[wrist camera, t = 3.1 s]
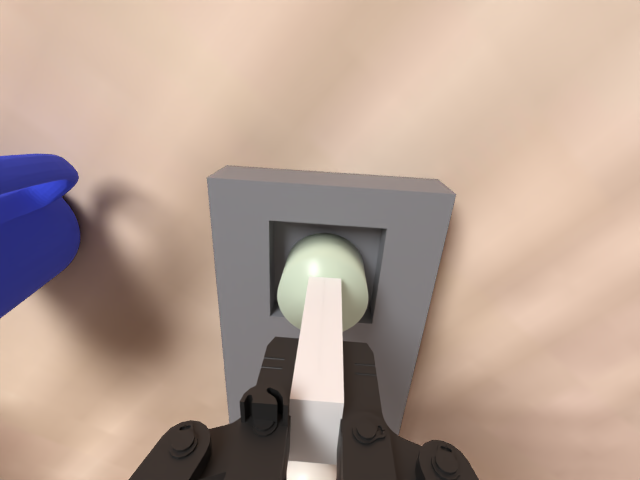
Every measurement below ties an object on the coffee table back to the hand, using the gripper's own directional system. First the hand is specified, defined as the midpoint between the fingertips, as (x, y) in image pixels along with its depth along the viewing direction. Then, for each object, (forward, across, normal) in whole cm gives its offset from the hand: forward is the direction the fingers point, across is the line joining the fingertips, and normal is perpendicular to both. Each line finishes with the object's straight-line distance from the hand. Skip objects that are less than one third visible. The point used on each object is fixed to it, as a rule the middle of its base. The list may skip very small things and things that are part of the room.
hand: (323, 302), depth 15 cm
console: (+5, 0, -8) cm, 10 cm away
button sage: (+3, 0, 0) cm, 3 cm away
